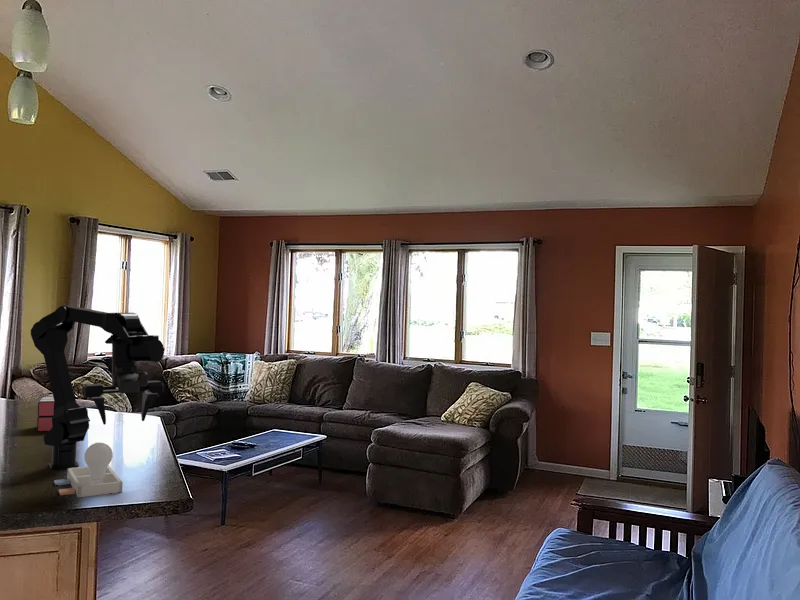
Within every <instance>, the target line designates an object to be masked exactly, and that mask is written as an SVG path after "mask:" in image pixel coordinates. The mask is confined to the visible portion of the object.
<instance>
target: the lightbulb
mask: <svg viewBox="0 0 800 600" xmlns="http://www.w3.org/2000/svg"><path fill="white" fill-rule="evenodd" d="M113 455H114V454H113V450H112V448H111V447H110V446H109V445H108V444H107V443H105V442H95V443H92V444H91V445H89V446H88V447H87V448H86V450H85V451H84V457H83V458H84V459H83V460H84V462H85V464H86V467H87V466H88V468H89V471H90V478H91V485H92V484H101V483H103V479H104V477H105V472H106V469H107V467H108V465H109V466H110V463H111V462H112V459H113Z"/></svg>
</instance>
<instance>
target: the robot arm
mask: <svg viewBox="0 0 800 600" xmlns="http://www.w3.org/2000/svg"><path fill="white" fill-rule="evenodd" d="M75 323H79V324H84V325H88V326H93V327H99V328H101V329H102V330H104V331H105V332H107V333H109V334H111V335H110V336H109V337H108V338H107V339H106V340H105V341H104V343H105V344H106V345H107V344H110V345H111V361H112V362H111V385H106V386H103V384H101V383H91V384H90V383H88V384H84V385H83V386H82V397H84V398H88V400H90V401H91V402H94V404H95V406H96V408H97V411H98V413H99V415H100V419H101V421H102V424H103V425H106V424H107V417H106V408H105V407H106V406H105V397H103V395H104V394H105V395H106V394H116V393H117V394H118V393H119V394H127V393H134V394H137V393H139V392H142V398H141V416H140V417H141V421H142V422H145V421H146V420H145V419H146V417H147V414H148V411H149V408H150V405H151V403H152V401H153V400H154V399H155V397H160V393H161V394H162V393H165V384H164V382H163V381H161V380H149V374H148V372H147V371H143V372H141V371H140V372H139V373H138V372H137V370H138V369H137V363H138V362H139V363H158V362H160V361H161V360H162V359H163V358H164V356H165V355H164V354H165V347H164V344H163V342H162V341H161V340H159V339H160V337H159V335H156V334H153V335H152V334H151V335H150V334H149V333H148V331H147V330H146V328H145V326H144V325H143V323H142V322H141V319H140V317H139V314H137V313H135V312H107V311H100V310H96V309H90V308H84V307H80V306H77V305H64V304H63V305H61V306H59V307H58V308H56V309H55V310H54V311H52V312H51V313H49V314H47V315H45V316H43V317H42V318H40V319H39V320H38V321H36V322H35V323H34V324H32V327H31V328H30V337H31V339H32V342H33V345H34V347H35V348H36V349H37V350H38V351H39V352H40V354H42V355H43V358H44V361H45V367H46V371H47V375H48V380H49V384H50V388H51V392H52V397H53V398H54V402H55V407H56V408H55V411H54V414H53V417H52V426H53V427H52V428H51V429H50V431H47V432H46V433H45V435H44V436H43V442H44V445H45V446H51V447H52V448H51V449H52V451H51V462H48V466H49V468H50V470H61V469H67V468H76V467H80V465H79V463H78V462H77V461H76V460H77V443H78V442H83V441H85V437H86V435H87V432H88V430H89V429H90V422H91V419H90V417H89V415H88V414H89V412H88V408H87V407H86V406H80V405H79V404H78V402H77V400H76V396H75V391H74V388H73V383H72V379H71V376H70V375H71V374H70V370H69V366H68V362H67V358H66V357H67V356H66V354H65V350H66V348H67V344H68V342H69V340H68V337H69V336H68V334H69V333H70V332H71V331H72V330H73V329H74V328H75Z"/></svg>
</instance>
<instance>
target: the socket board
mask: <svg viewBox="0 0 800 600" xmlns="http://www.w3.org/2000/svg"><path fill="white" fill-rule="evenodd" d="M66 469H67V470H66V473H67V475H66V478H62V479H55V480H53V484H54V485H55V486H56V485H58V486H66V485H67V484H68V485H71V487H68V488H59V489H58V493H59V496H68V495H76V496H77V498H84V497H93V496H102V494H103V495H110V494H109V493H112V494H119V493H118V492H120V493H123V480H121V478H120V476H118V475H117V474H116V472H115V471H114V469H112V467H111V466H110V464H109V465H108V467H107V469H106V472H105V477H104V479H103V483H101V484H92V485H91V478H90V471H89V468H88V466H87V465H86V466H79V467H74V468H66Z"/></svg>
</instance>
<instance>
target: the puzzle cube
mask: <svg viewBox="0 0 800 600" xmlns="http://www.w3.org/2000/svg"><path fill="white" fill-rule="evenodd" d="M55 408H56V407H55V402H54V398H53V396H48V397H47V396H45V397H44V396H43V397H42V398H40V400H39V401H38V403H37V420H36V421H37V426H36V431H37V432H38V431H40V432H41V431H42V432H41V433H44V432H43V431H47V432H49V431H50V429H51V428H52V427H53V426H52V417H53V414H54V411H55ZM40 432H39V433H40Z"/></svg>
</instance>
